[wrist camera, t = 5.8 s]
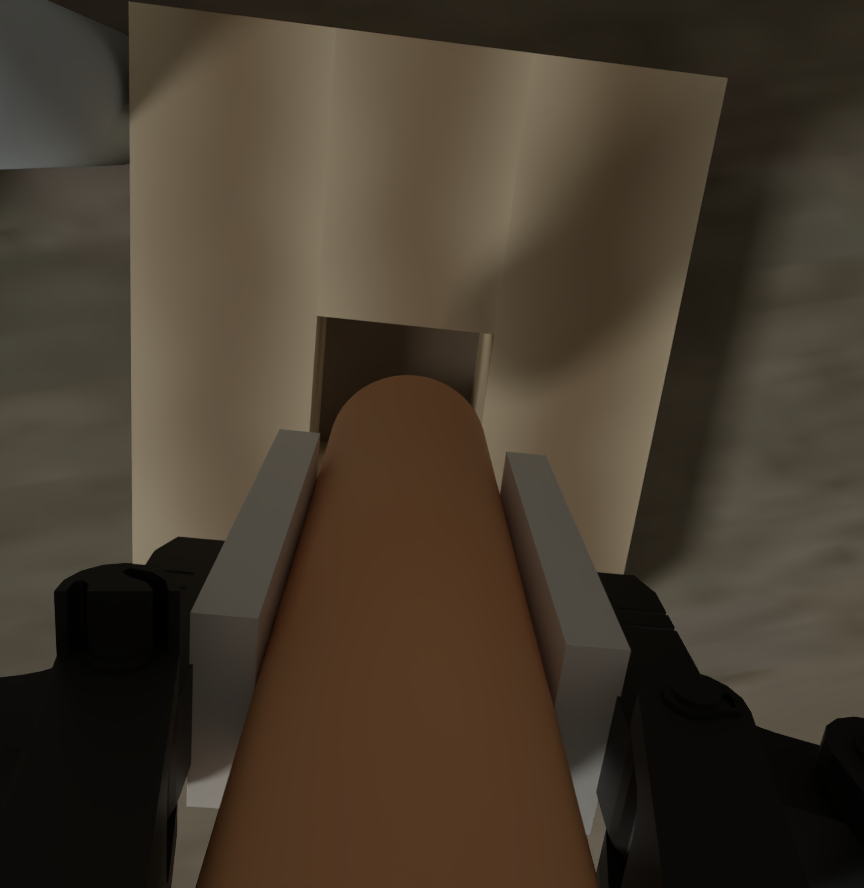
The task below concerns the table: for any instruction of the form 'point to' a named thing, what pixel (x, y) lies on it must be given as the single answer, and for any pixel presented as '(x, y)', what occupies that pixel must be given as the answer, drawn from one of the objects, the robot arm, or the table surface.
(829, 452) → the table surface
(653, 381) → the bore block
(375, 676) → the tapered brown peg
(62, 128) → the grey dowel
